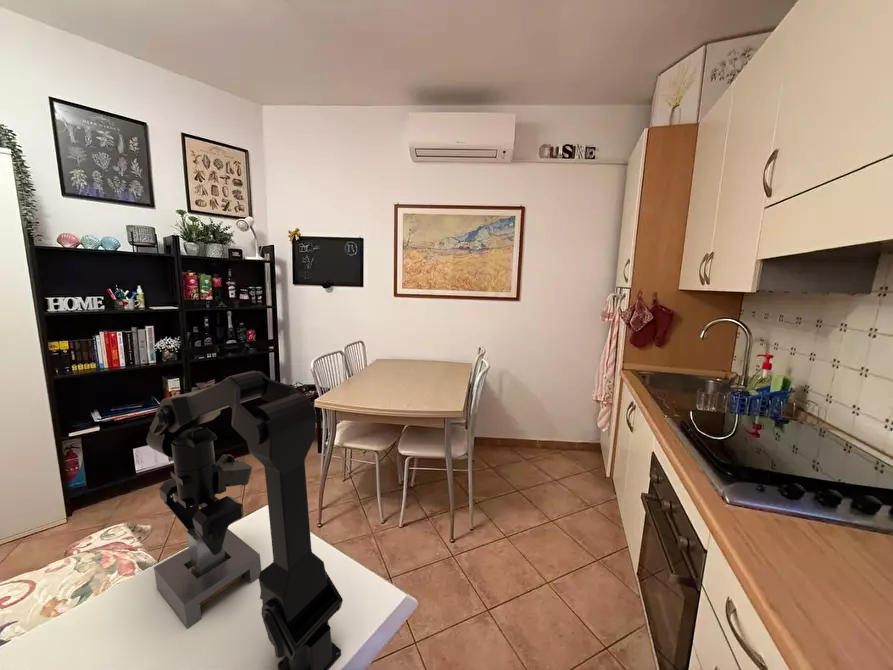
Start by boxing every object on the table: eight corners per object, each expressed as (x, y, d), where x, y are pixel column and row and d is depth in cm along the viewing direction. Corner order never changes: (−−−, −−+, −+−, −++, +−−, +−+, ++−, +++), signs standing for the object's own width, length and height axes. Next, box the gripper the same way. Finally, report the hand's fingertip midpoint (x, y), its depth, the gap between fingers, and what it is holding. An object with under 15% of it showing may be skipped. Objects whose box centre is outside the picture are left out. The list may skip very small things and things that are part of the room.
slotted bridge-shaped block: (261, 575, 65) (259, 554, 64) (187, 628, 55) (183, 604, 54) (228, 546, 72) (226, 527, 71) (157, 589, 62) (153, 567, 61)
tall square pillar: (227, 579, 64) (221, 526, 62) (203, 596, 61) (196, 540, 59) (217, 569, 66) (210, 518, 64) (193, 584, 63) (185, 531, 61)
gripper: (270, 458, 61) (276, 535, 64) (220, 432, 71) (227, 500, 74) (198, 489, 52) (209, 579, 54) (153, 455, 62) (164, 532, 65)
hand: (205, 542), depth 62 cm, fingers open, 9 cm apart
